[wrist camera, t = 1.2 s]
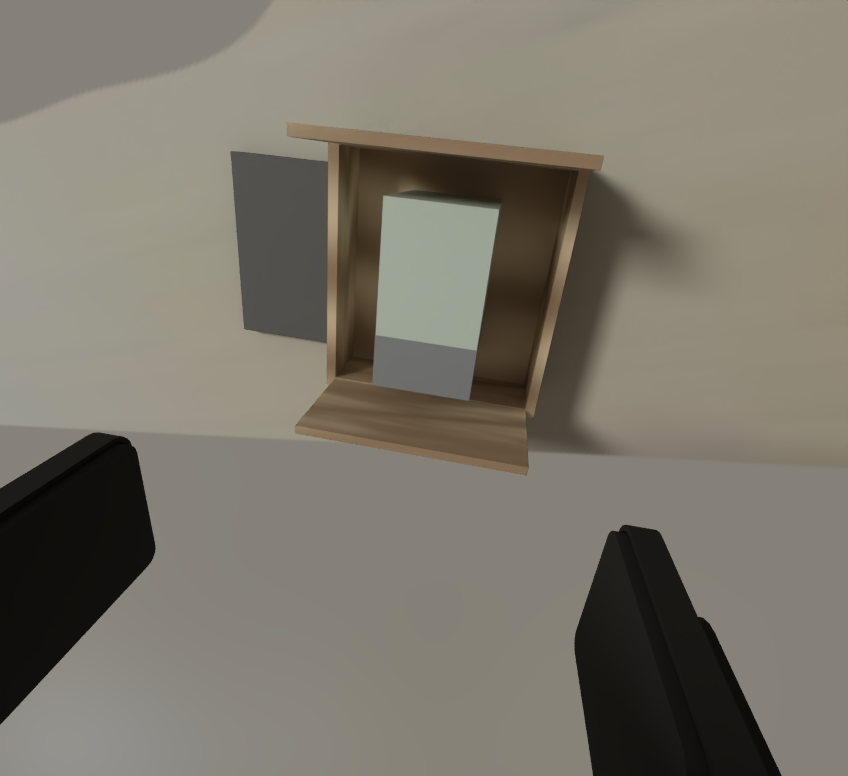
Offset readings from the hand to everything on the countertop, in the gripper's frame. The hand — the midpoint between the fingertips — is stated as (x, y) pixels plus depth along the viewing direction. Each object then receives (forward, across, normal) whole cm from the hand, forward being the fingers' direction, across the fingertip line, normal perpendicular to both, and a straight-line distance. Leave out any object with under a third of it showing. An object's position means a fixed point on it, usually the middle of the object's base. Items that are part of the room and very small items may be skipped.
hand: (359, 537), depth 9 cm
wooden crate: (+25, +1, -1) cm, 25 cm away
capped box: (+24, +1, -1) cm, 24 cm away
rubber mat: (+25, +12, -1) cm, 28 cm away
